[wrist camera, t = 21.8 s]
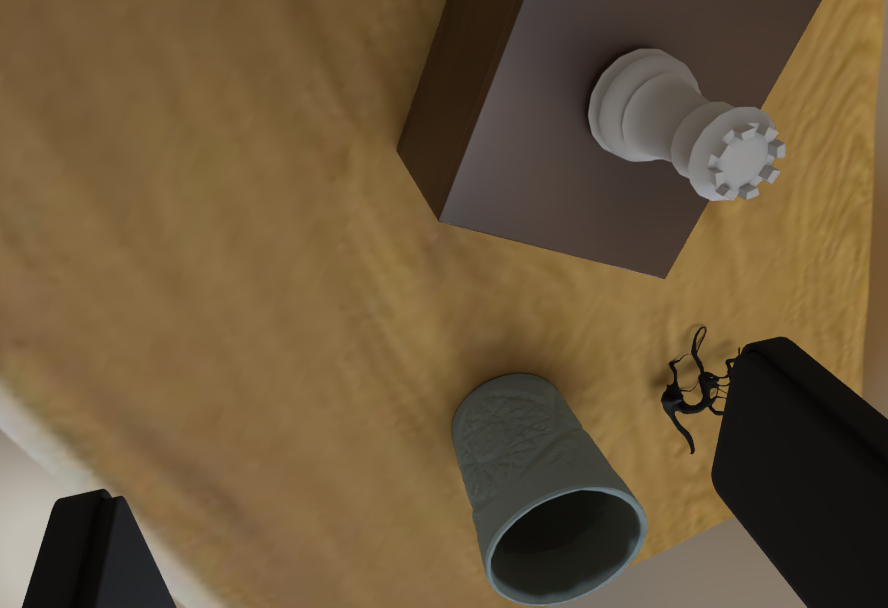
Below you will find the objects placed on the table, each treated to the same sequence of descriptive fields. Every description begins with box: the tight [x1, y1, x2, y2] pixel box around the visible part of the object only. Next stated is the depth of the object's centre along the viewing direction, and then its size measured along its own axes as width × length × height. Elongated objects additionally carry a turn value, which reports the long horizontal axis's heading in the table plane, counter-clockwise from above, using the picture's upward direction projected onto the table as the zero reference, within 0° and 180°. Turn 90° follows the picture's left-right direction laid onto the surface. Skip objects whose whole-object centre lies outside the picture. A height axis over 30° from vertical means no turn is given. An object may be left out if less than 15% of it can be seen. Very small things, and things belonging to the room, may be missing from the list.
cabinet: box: [396, 0, 822, 279], centre depth 32 cm, size 15×13×10 cm
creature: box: [661, 327, 741, 454], centre depth 50 cm, size 8×5×8 cm
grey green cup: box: [452, 373, 647, 606], centre depth 44 cm, size 10×10×12 cm
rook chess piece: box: [588, 49, 785, 201], centre depth 25 cm, size 4×4×8 cm
